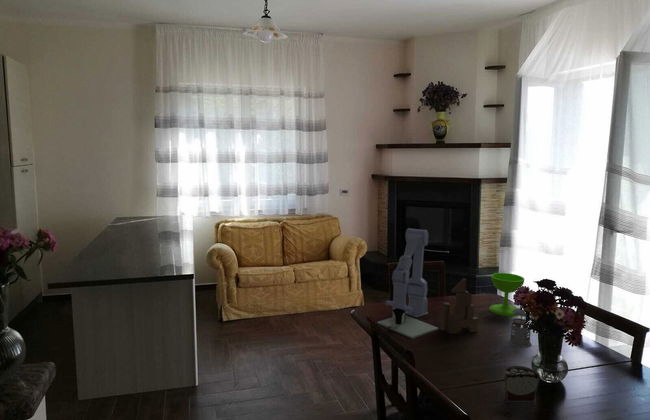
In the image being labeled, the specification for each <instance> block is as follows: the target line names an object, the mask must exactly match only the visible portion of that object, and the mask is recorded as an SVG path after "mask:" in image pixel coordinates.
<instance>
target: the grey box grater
mask: <svg viewBox="0 0 650 420" xmlns="http://www.w3.org/2000/svg"><path fill="white" fill-rule="evenodd" d="M516 308H517V309H514V310H513V311H512V312H513V313H514V314H515V315H518V316H517V317H518V318H513V319H512V322H511V325H510V326H511V327H510V338H509V339H508V340H507V342H508V343H509V344H510V345H512V346H513V347H514V346H515V347H517V348H525V349H526V348H531V347H532V346H533V344H531V343H532V342H531V333H532V331H531V330H532V329H531V330H528V331H527V328H529V327H528V325H530V324H531V322H530V321H529V322H528V323H527V324H525V320H526V318H527V317H526V313H525V311H524V310H520V308H521V307H520V308H519V307H516ZM519 317H520V318H519ZM523 317H524V319H523ZM529 323H530V324H529ZM521 326H522V327H521Z"/></svg>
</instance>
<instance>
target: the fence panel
mask: <svg viewBox="0 0 650 420" xmlns="http://www.w3.org/2000/svg"><path fill="white" fill-rule="evenodd" d="M391 318H392V323H391V327H392V328H394V327H396V326H398V325H397V324H396V317H395V316H394V317H393V316H392V317H391ZM402 323H404V314H403V315H402ZM402 323H401V324H402Z"/></svg>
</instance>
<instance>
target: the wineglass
mask: <svg viewBox="0 0 650 420" xmlns="http://www.w3.org/2000/svg"><path fill="white" fill-rule="evenodd" d="M491 282H492V284H493V286H494V287H495V288H496V290H498V291H500V292H502V293H504V296H503V297H504V298H503V303H501V304H500V303H498V304H496V303H495V304H492V305H490V306H489V308H488V310H489V311H490V312H491V313H493V314H495V315H498V316H502V317H519V316H518V315H515V314H514V313H513V312H512V311H513V310H514V309H517V308H518V307H516V306H514V305H510V304H509V294H512V293H515V292H517V291H518V290H517V288H518V287H521V286H522V287H523V285H524V283H525V278H524V277H523V276H521V275H518V274H515V273H508V272H495V273H492V274H491ZM522 287H521V288H522ZM516 290H517V291H516Z"/></svg>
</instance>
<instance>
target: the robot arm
mask: <svg viewBox="0 0 650 420" xmlns="http://www.w3.org/2000/svg"><path fill="white" fill-rule="evenodd" d="M404 236H405V237H404V238H405V242H406V245H405V250H404V253H403V255H401V256H400V257H399V261H398V263H397V266H396V268H395V269H394V270H393V271H392V274H391V281H392V285H393V293H392V294H393V295H392V296H393V298H392V300H390V299H388V300H386V301H385V306H389V307H392V313H393V312H394V314H395V317H396V324H397V325H400V324H401V323H402V315H403V314H404V312H406V315H407V316H410V317H413V318H419V317H423V316H426V315H429V312H428V305H429V304H428V298H427V295H428V291H429V289H428V282H427V281H426V280H425V279H424V278H423V270H424V269H423V268H424V255H425V254H424V253H425V252H424V251H425V246H426V247H427V246H428V244H429V232H428V230H427V229H417V228H410V227H408V228H407V229H406V230H405V235H404ZM412 256H413V259H412ZM411 266H412V275H411V277H410V273H411V272H410V269H411ZM407 297H408V305H407V301H406V300H407ZM393 308H395V309H393Z"/></svg>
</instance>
